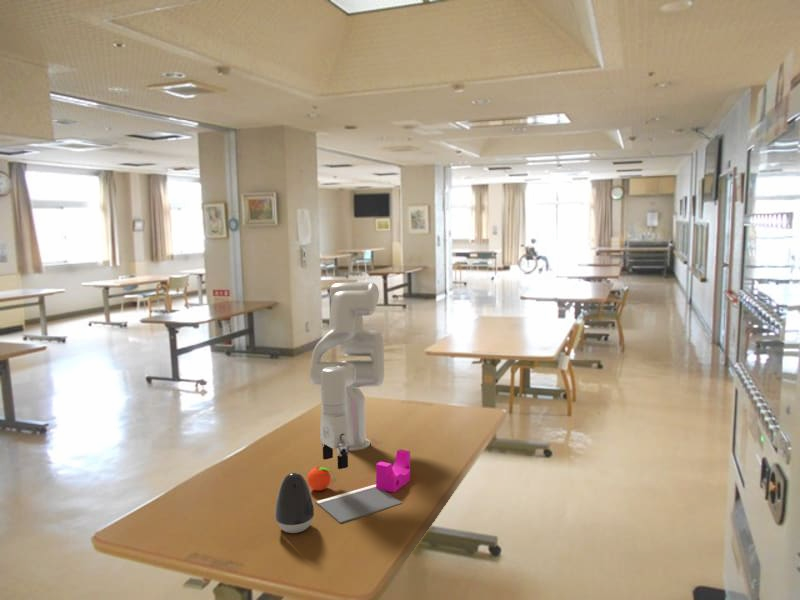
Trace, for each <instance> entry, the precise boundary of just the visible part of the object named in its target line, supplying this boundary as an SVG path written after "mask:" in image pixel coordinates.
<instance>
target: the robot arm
mask: <svg viewBox="0 0 800 600" xmlns="http://www.w3.org/2000/svg"><path fill="white" fill-rule="evenodd" d="M329 297H330V299H331V302H330V303H331V304H330V310H329V311H330V313H329V323H328V331H327V332H326V334H325V335H324V336H322V337H321V339H319V341H318V342H317V343H316V345H315V346H314V348H313V350H312V353H311V361H310V368H309V379H310V382H311V384H312V385H314V386H318V387H320V394H321V396H320V397H321V398H320V401H321V403H320V404H321V405H320V406H321V407H320V408H321V413H320V427H319V428H320V429H319V430H320V431H319V433H320V434H319V437H320V438H319V439H320V442H321V445H322V459H323V460H325V461H326V460H329V459H333V458H334V452H333V451H334V450H335V449H336V451H337V454H338V455H337V469H338V470H343V469H346V468H348V467H349V452H350V451H351V452H355V451H362V450H364V449H367V448H369V446H371V440H370V438H367V435H366V434H367V433H366V399H365V395H364V392H362V390H361V389H360V388H365V387H366V388H369V387H370V388H375V387H376V388H377V387H380V386H382V385H383V383H384V379H385V345H384V342H385V341H384V337H383V334H382V333H381V332H380V331H378V330H375V329H373V330H372V329H369V330H367V329H366V330H365V329H364V327H363V326H364V321H363V320H364V318H363V317H364V316H367V317H368V316H372V315H373V314H374V312H376V308H377V306H378V302H379V298H380V290H379V287H378V285H377V284H376V283H374V282H364V281H363V282H351V281H350V282H337V283H333V284H332V285H331V286H330V288H329ZM337 346H339V351H340V353H341V355H343V356H345V357H366V358H367V357H368V358H370V359H371V360H370V359H366V360H365V359H364V360H363V359H362V360H361V359H357V360H356V359H349V360H347V359H346V360H342V361H322V358H323V357H324V355H325V354H326V353H327V352H328V351H330V350H332V349H333V348H336V347H337Z"/></svg>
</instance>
